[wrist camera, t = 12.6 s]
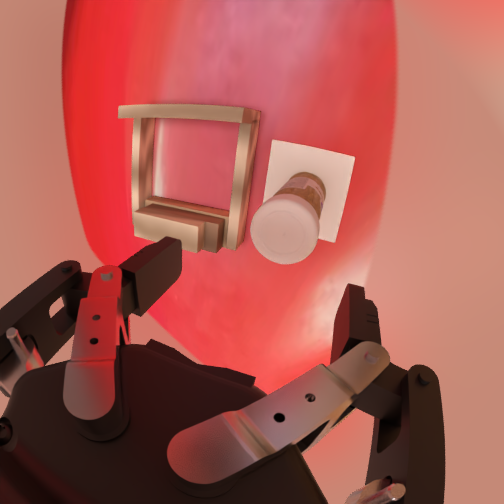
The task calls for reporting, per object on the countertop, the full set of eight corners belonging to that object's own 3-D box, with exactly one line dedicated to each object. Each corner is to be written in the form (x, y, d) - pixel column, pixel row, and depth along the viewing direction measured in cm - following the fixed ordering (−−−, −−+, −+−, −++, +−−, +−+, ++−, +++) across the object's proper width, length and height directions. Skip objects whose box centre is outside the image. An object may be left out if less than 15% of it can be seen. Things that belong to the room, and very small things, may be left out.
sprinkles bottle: (328, 209, 29) (321, 265, 18) (288, 212, 31) (255, 268, 19) (323, 168, 28) (313, 196, 16) (281, 173, 29) (242, 204, 18)
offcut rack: (149, 106, 31) (118, 105, 26) (260, 111, 28) (243, 107, 22) (145, 220, 38) (119, 235, 33) (243, 244, 35) (225, 266, 30)
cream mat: (273, 139, 29) (272, 139, 28) (354, 156, 27) (355, 157, 26) (261, 222, 33) (259, 224, 33) (334, 240, 31) (334, 242, 31)
